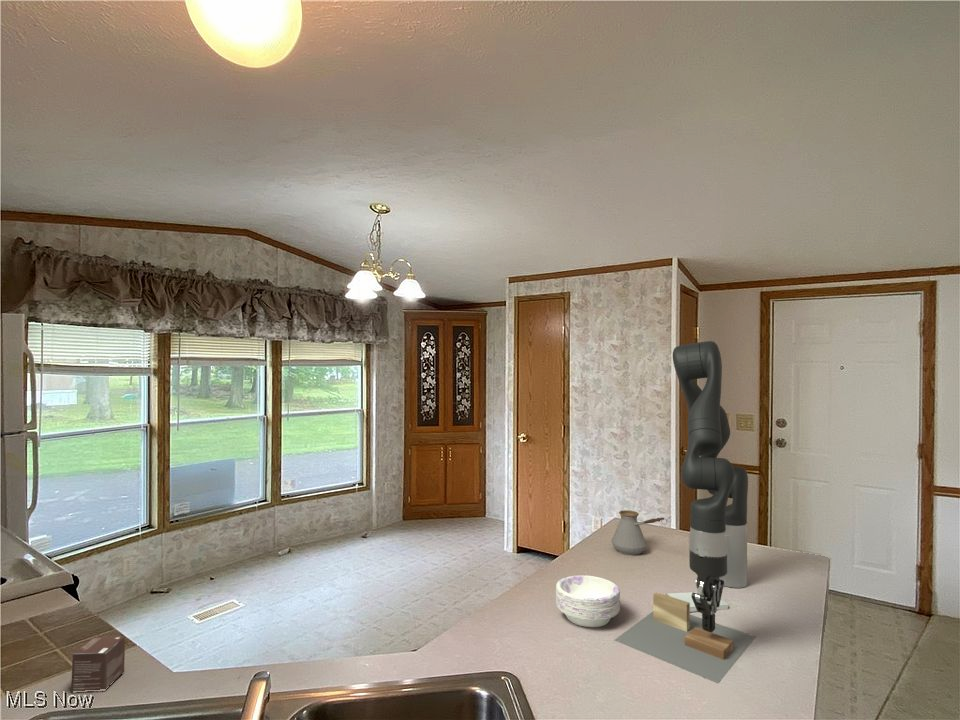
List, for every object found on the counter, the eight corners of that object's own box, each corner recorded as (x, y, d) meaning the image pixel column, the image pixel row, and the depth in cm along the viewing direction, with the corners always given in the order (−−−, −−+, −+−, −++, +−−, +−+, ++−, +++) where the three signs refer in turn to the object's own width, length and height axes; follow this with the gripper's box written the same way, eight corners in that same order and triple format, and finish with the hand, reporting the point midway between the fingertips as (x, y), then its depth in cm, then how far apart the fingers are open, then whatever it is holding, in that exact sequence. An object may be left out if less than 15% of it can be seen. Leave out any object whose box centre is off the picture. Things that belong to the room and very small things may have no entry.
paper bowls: (572, 599, 132) (572, 568, 132) (628, 615, 123) (628, 582, 123) (544, 622, 119) (544, 588, 120) (605, 642, 110) (605, 605, 111)
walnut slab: (695, 626, 113) (684, 636, 109) (733, 640, 107) (723, 651, 103) (695, 635, 113) (684, 645, 109) (733, 648, 107) (723, 659, 103)
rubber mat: (661, 606, 128) (661, 604, 128) (756, 638, 112) (756, 636, 112) (614, 641, 110) (614, 639, 111) (717, 685, 95) (717, 683, 95)
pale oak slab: (656, 617, 121) (656, 592, 121) (689, 628, 116) (689, 602, 116) (653, 619, 120) (653, 594, 120) (686, 631, 114) (686, 605, 114)
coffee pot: (604, 548, 171) (604, 504, 171) (629, 543, 176) (629, 500, 176) (652, 570, 152) (651, 520, 152) (678, 563, 157) (678, 515, 157)
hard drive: (684, 606, 123) (728, 603, 126) (665, 593, 131) (707, 590, 134) (684, 613, 123) (728, 610, 126) (665, 599, 131) (707, 596, 134)
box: (92, 674, 97) (94, 636, 98) (125, 673, 98) (126, 635, 98) (69, 694, 91) (71, 653, 92) (104, 692, 92) (105, 652, 92)
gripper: (701, 538, 116) (702, 614, 115) (678, 552, 106) (678, 634, 106) (736, 546, 111) (737, 625, 110) (715, 561, 101) (715, 648, 101)
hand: (708, 630), depth 108 cm, fingers closed
